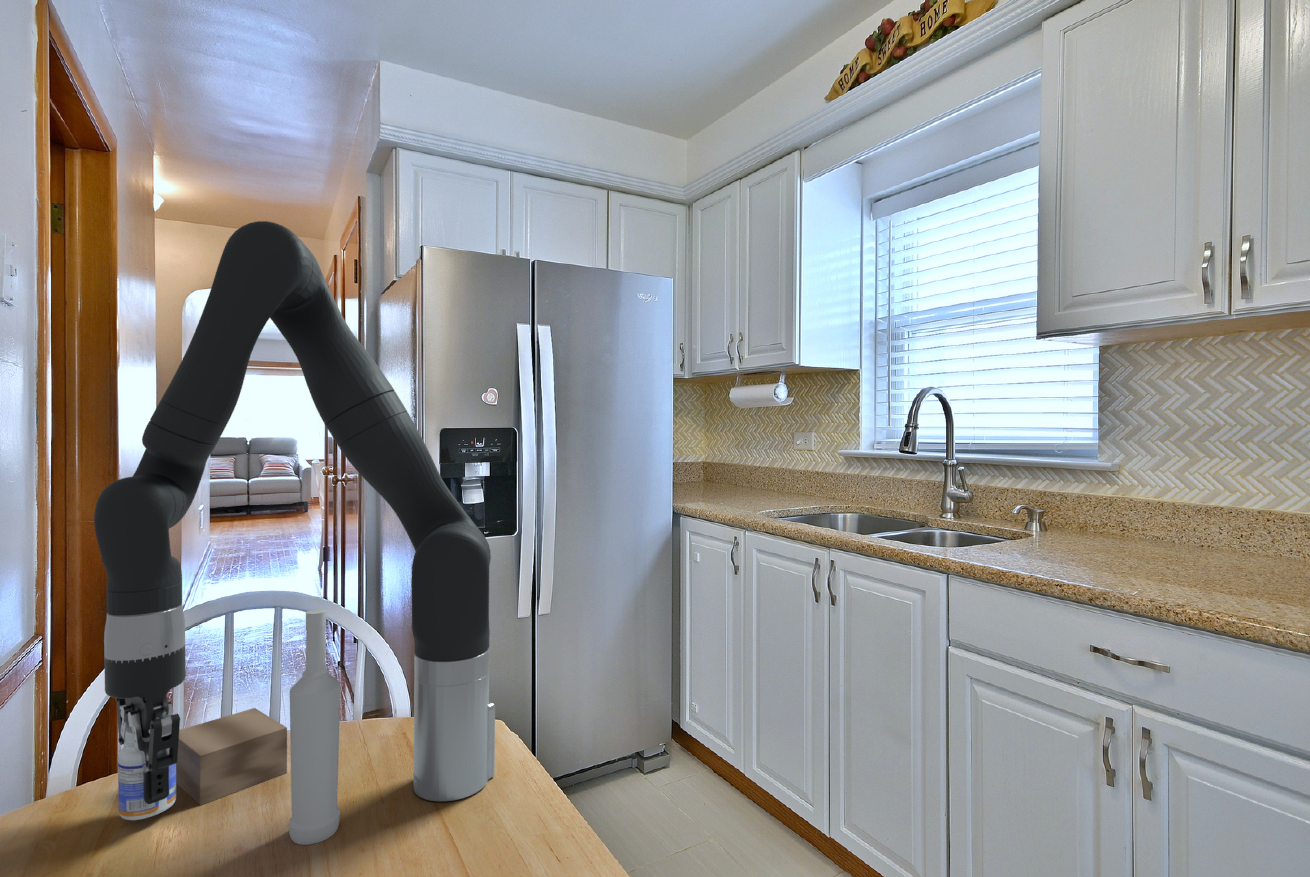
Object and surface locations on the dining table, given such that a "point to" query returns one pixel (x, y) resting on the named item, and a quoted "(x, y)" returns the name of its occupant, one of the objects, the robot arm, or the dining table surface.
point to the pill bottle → (139, 783)
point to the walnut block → (230, 754)
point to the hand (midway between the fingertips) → (147, 791)
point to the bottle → (314, 742)
